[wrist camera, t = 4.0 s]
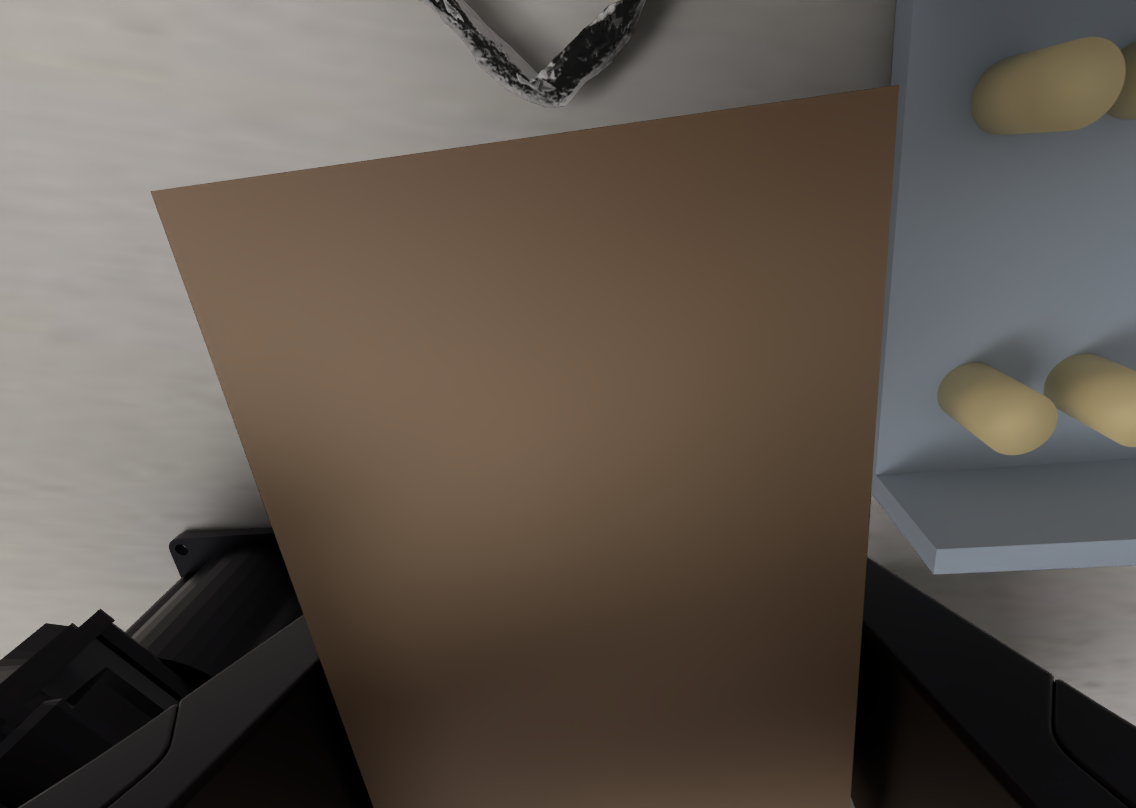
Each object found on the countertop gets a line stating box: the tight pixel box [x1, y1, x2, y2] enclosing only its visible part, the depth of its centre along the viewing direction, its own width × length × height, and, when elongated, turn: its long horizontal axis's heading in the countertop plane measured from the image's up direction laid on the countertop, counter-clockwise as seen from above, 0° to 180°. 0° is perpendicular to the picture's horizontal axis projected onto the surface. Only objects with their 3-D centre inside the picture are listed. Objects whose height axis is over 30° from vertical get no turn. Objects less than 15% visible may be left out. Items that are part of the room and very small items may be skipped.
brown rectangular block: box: [151, 85, 899, 808], centre depth 8 cm, size 11×5×4 cm, turn 7°
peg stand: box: [871, 0, 1136, 575], centre depth 15 cm, size 15×8×5 cm, turn 7°
